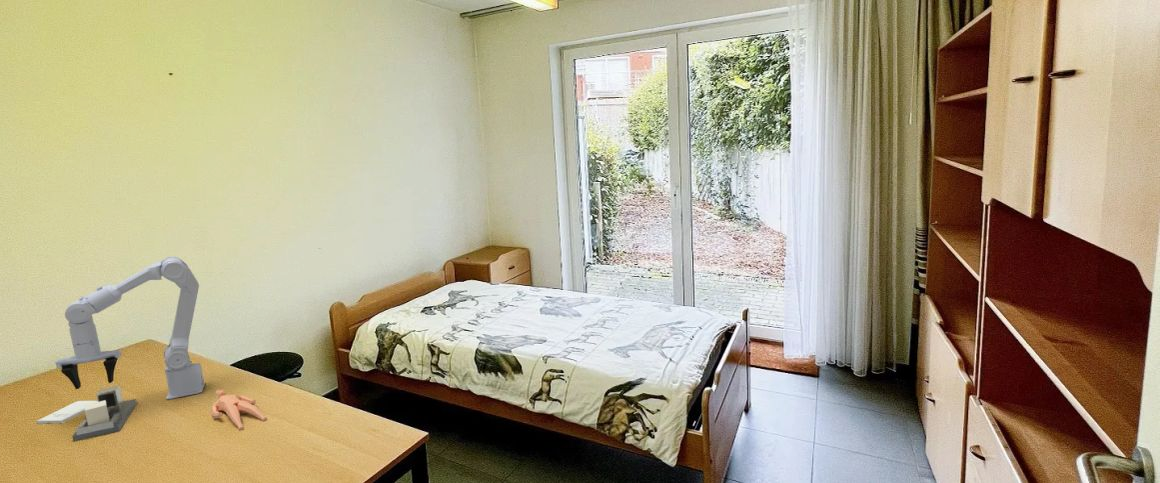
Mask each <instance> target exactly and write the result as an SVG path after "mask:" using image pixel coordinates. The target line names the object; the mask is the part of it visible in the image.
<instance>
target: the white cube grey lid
mask: <svg viewBox="0 0 1160 483" xmlns="http://www.w3.org/2000/svg"><path fill="white" fill-rule="evenodd" d="M84 414H85V417H86V418H87V423H88V426H91V425H96V424H101V423H105V422H110V419H109V414H108V409H107V405H106V400H104V401H100V402H96V403H92V404H89V405H85V412H84ZM86 418H85V419H86Z"/></svg>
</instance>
